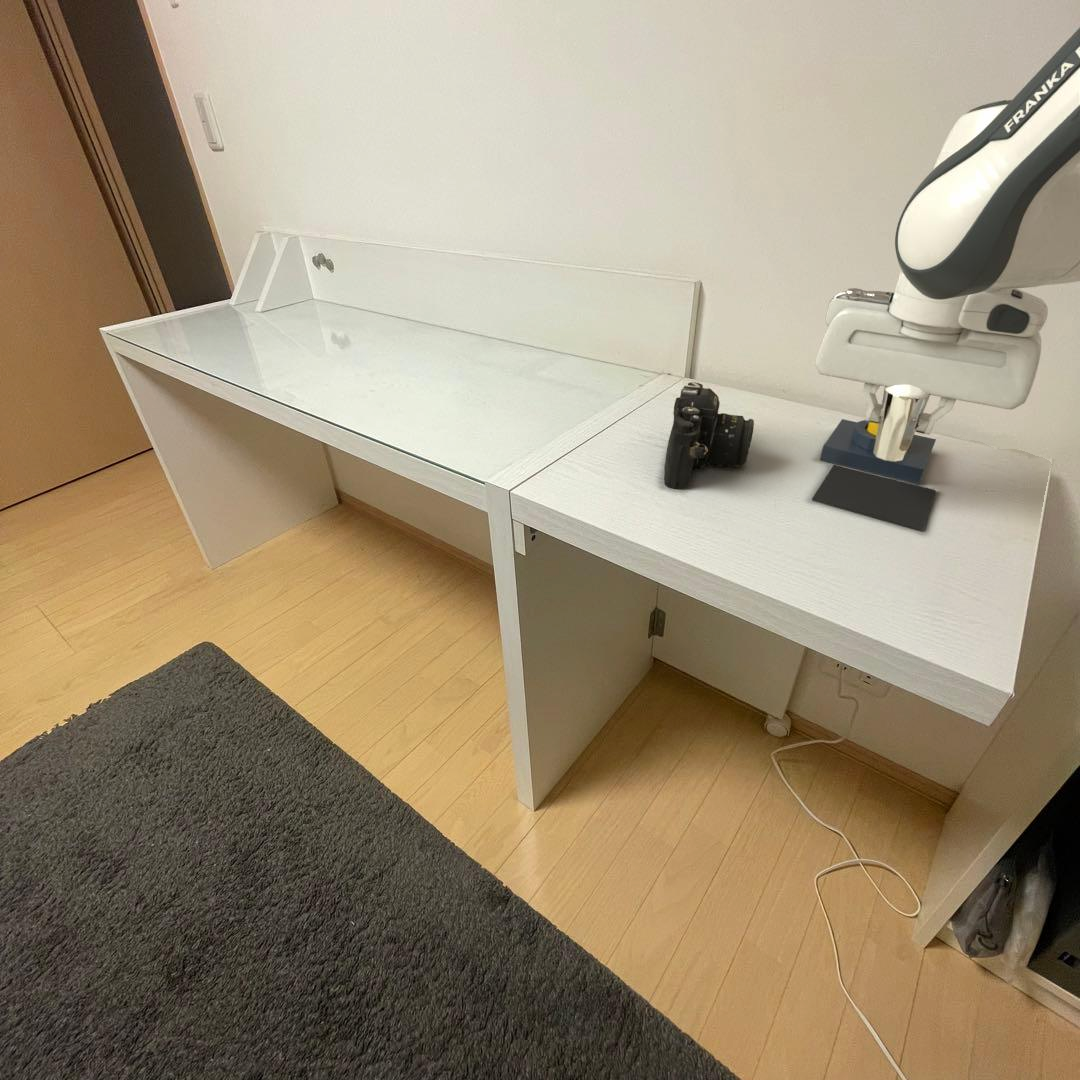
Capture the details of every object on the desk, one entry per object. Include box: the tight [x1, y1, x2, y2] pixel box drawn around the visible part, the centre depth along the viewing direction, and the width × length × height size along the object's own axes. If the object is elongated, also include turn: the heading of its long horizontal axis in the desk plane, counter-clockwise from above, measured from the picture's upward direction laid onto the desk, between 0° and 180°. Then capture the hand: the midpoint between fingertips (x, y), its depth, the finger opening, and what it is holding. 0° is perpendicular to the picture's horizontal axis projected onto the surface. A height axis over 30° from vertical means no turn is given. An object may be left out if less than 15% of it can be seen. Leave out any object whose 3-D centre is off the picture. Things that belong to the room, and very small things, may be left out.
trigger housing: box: [819, 418, 937, 486], centre depth 82 cm, size 12×10×4 cm
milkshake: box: [873, 385, 932, 462], centre depth 68 cm, size 4×5×10 cm
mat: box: [811, 464, 937, 532], centre depth 74 cm, size 12×10×1 cm
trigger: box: [867, 422, 879, 435], centre depth 80 cm, size 4×4×2 cm
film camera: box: [663, 381, 755, 490], centre depth 80 cm, size 18×12×10 cm
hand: (897, 426), depth 69 cm, fingers closed on milkshake, 4 cm apart
